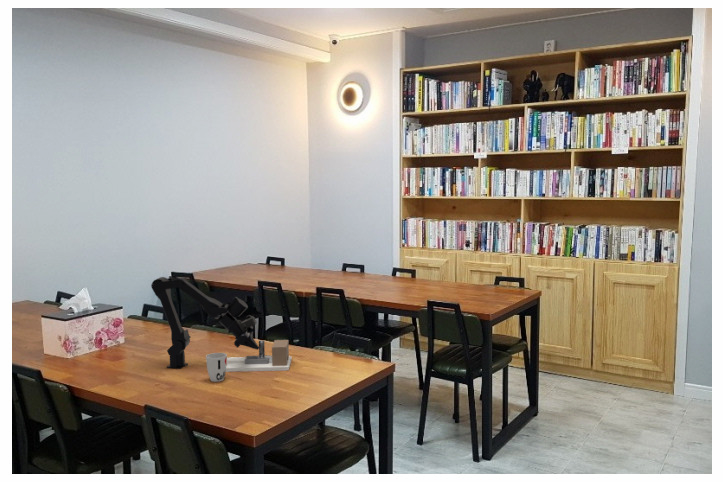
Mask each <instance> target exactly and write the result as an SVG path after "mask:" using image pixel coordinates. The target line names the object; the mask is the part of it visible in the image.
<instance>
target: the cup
mask: <svg viewBox="0 0 723 482" xmlns="http://www.w3.org/2000/svg"><path fill="white" fill-rule="evenodd" d="M227 357H228V354H227V353H224V352H212V353H208V354H206V355H205V360H206V369H207V375H208V377H209V379H210V381H211V382H212V383H218V382H223V381H224V380H225V377H226V373H227V372H226V365H227Z"/></svg>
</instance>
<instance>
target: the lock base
mask: <svg viewBox="0 0 723 482" xmlns="http://www.w3.org/2000/svg"><path fill="white" fill-rule="evenodd" d="M273 341H274V342H273V344H272V347H271V355H265V356H272V362H269V359H258V357H259V355H246V356H243V357H242V356H241V357H240V356H234V357H232V356H231V357H228V356H227V365H226V372H225V373H227V372H228V373H232V372H235V373H236V372H272V371H273V372H278V371H280V372H282V371H286V372H287V370H288V371H289V370H290V367H291V363H292V355H291V356H290V350H289V349H290V348H289V345H290V344H289V343H290V342H289V341H290V340H289V339H274V340H273Z"/></svg>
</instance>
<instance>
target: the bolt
mask: <svg viewBox="0 0 723 482" xmlns="http://www.w3.org/2000/svg"><path fill="white" fill-rule="evenodd" d="M258 347H259V349H258V356H259V357H258V359H269V362H272V355H270V356H265V353H266V352H265V349H266V348H265V340H262V339H261V340H258Z"/></svg>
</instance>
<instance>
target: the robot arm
mask: <svg viewBox="0 0 723 482" xmlns="http://www.w3.org/2000/svg"><path fill="white" fill-rule="evenodd" d="M150 286H151V289H152V292H153V293H154V295H155V296H156V297H157V299H159V302H160V303H161V307H162V309H163V312H164V314H165V318H166V320H167V323H168V325H169V328H170V331H171V332H170V333H171V335H170V337H171V346H170V347H169V348H168V349H166V351H167V354H168V356H169V365H167V366H166V368H169V369H176V370H177V369H179V370H180V369H182V368H184V367H186V366H188V365H189V363H187V362H186V354H185V350H186V348H187V347H188V346H189V344H190V343H191V336H190V334H189V329H184V328H183V327H182V324H181V322H180V318H179V315H178V313H177V310H176V307H175V305H174V302H173V299H172V295H171V292H172V291H171V289H175V288H176V289H177V288H178V289H179V290H181V291H182V292H184V293H185V294H186V295H188V296H189V297H190V298H192V299H193V300H194V301H196V302H197V303H198V304H199V305H200V306H201V307H202V309H203V311H205V312H206V314H208V316H210V317H212V318H213V317H214V319H213V320H214V326H217V325H218V324H219V323H220V324H221V326H223V327H224V328H225V329H226V330H227V333H228V334H232V335H233V336H234V339H235V340H234V344H233V345H234V346H235V348H239V347H240V346H243V347H247V348H250V349H254V350H258V351H259V344H258V343H257V342H256V340H255V339H254V338H253V337H254V336H253V333H254V331H253V329H254V327H255V325H257V321H256V317H254V315H251V314H250V315H247V316H246V317H245V318H246V319H244V320H243V321H242V320H240V319H236V318H237V317H240V316H241V315H242V314H243V313H244V312H245V311H246V310H247V309H248V307H249V306H248V304H247V303H246V302H245V301H244V300H242V299H241V298H239V297H238V296H235V297H234V298H233V300H232V301H231V302H230V303H229V304H228V303H222V302H221V301H220V300H217V299H216V298H213V297H210V296H208V295H206V294H205V293H204V292H202V291H201V290H200V289H198V288H197V287H196V286H195V285H193V284H192V283H191V282H190V281H188V280H187V279H186V278H185V277H184V276H182V277H181V276H179V277H171V278H170V277H169V278H167V277H164V276H160V277H159V278H156V279H154V280H153V281H152V282H151V285H150ZM217 316H218V317H217Z"/></svg>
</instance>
